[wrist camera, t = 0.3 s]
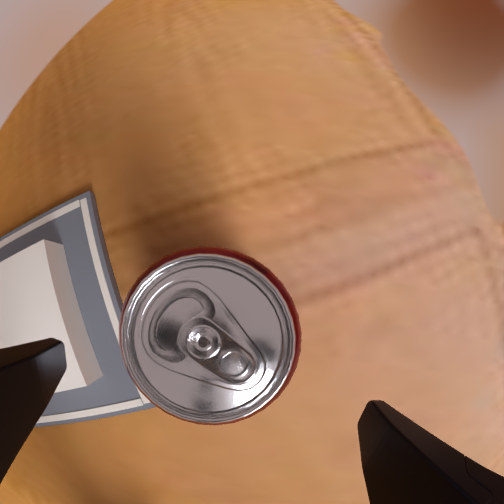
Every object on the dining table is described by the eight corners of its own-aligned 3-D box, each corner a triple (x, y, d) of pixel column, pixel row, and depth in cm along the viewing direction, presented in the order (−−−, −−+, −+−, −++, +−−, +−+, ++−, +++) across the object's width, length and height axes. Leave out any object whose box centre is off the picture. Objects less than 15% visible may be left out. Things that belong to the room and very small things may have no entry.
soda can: (155, 318, 22) (80, 344, 10) (216, 246, 23) (196, 203, 11) (227, 379, 22) (219, 461, 10) (290, 309, 23) (343, 330, 11)
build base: (160, 402, 21) (147, 421, 17) (17, 425, 20) (-4, 438, 16) (94, 194, 23) (72, 178, 19) (-31, 261, 22) (-55, 258, 18)
